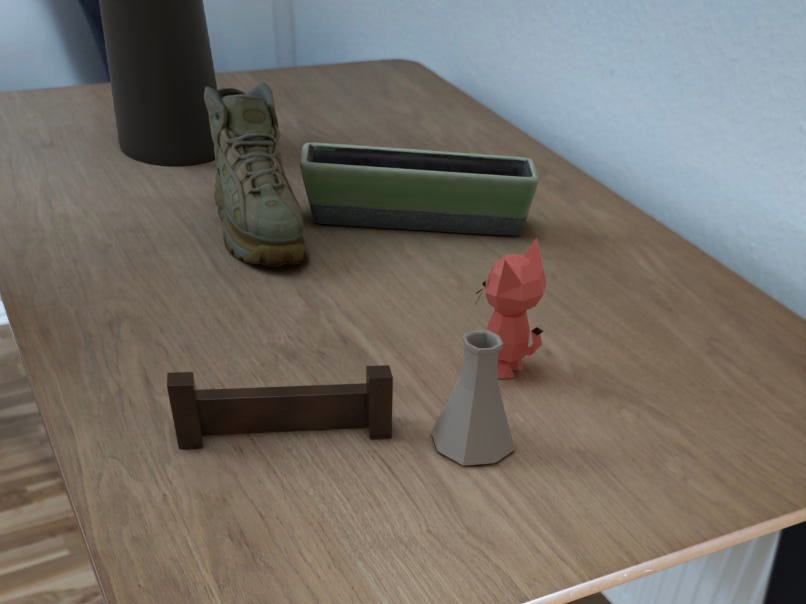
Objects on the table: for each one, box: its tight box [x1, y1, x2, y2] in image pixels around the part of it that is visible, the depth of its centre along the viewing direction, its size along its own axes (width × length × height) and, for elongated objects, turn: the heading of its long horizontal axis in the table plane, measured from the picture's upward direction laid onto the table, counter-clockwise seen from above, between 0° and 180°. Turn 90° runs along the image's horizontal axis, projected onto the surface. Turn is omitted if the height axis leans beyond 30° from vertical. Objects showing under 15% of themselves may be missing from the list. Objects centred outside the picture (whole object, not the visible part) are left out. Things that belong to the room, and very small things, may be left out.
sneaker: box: [204, 81, 310, 268], centre depth 98 cm, size 11×19×15 cm, turn 12°
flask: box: [430, 329, 516, 466], centre depth 75 cm, size 7×7×10 cm
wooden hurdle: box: [166, 364, 394, 450], centre depth 75 cm, size 18×3×6 cm, turn 102°
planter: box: [299, 141, 539, 237], centre depth 107 cm, size 28×7×7 cm, turn 94°
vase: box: [98, 0, 218, 167], centre depth 108 cm, size 14×14×29 cm
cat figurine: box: [474, 237, 547, 380], centre depth 83 cm, size 7×7×12 cm
